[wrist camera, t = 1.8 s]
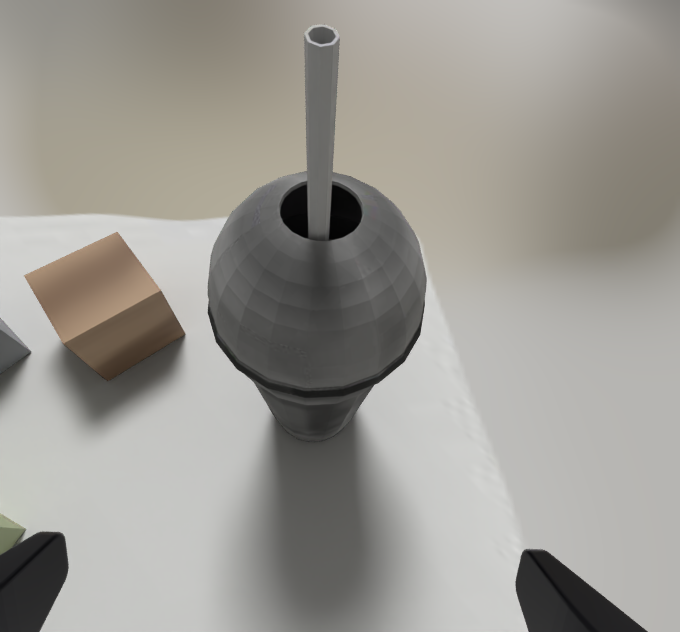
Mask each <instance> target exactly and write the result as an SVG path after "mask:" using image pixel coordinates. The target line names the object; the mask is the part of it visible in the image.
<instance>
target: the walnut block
mask: <svg viewBox="0 0 680 632" xmlns="http://www.w3.org/2000/svg"><path fill="white" fill-rule="evenodd" d="M24 276H25V278H26V280H27V282H28V283H29V285H30V287H31V289H32V290H33V292H34V294H35V296H36V297H37V299H38V301H39V303H40V304H41V306H42V308H43V310H44V311H45V313H46V315H47V317H48V318H49V320H50V322H51V323H52V325H53V327H54V329H55V330H56V332H57V334H58V336H59V337H60V339H61V341H62V343H63V344H64V345H65V346H66V347H68V348H69V349H70V350H71V351H72V352H73V353H75V354H76V355H77V356H78V357H79V358H81V359H82V360H83V361H84V362H85V363H86V364H88V365H89V366H90V367H91V368H92V369H94V370H95V371H96V372H97V373H98V374H99V375H101V376H102V377H103V378H104V379H105V380H106V381H109V380H111V379H112V378H114V377H116V376H117V375H119V374H121V373H122V372H124V371H126V370H127V369H129V368H131V367H132V366H134V365H136V364H137V363H139V362H140V361H142V360H144V359H145V358H147V357H149V356H150V355H152V354H154V353H155V352H157V351H159V350H160V349H162V348H164V347H165V346H167V345H169V344H170V343H172V342H173V341H175V340H177V339H178V338H180V337H182V336H183V335H185V332H184V331H183V329H182V327H181V325H180V323H179V322H178V320H177V318H176V316H175V315H174V313H173V311H172V309H171V307H170V306H169V304H168V302H167V300H166V299H165V297H164V295H163V293H162V292H161V290H160V289H159V287H158V286H157V284H156V283H155V282H154V280H153V279H152V278H151V276H150V275H149V274H148V272H147V271H146V270H145V268H144V267H143V266H142V264H141V263H140V262H139V260H138V259H137V258H136V256H135V255H134V253H133V252H132V251H131V249H130V248H129V247H128V245H127V244H126V243H125V241H124V240H123V239H122V237H121V236H120V235H119V233H118V232H116V233H114V234H112V235H109V236H107V237H105V238H103V239H101V240H99V241H97V242H94V243H92V244H90V245H88V246H86V247H84V248H82V249H80V250H77V251H75V252H73V253H71V254H69V255H67V256H65V257H63V258H60V259H58V260H56V261H54V262H52V263H50V264H48V265H45V266H43V267H41V268H39V269H37V270H35V271H33V272H31V273H28V274H26V275H24Z"/></svg>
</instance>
